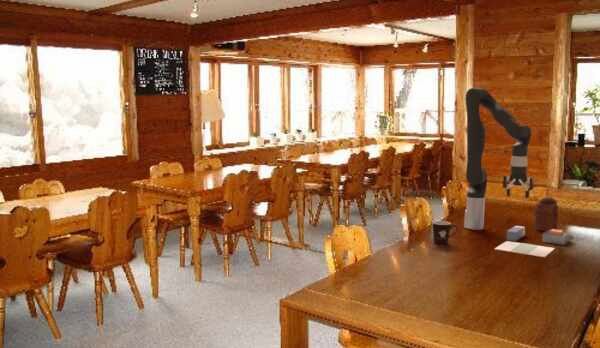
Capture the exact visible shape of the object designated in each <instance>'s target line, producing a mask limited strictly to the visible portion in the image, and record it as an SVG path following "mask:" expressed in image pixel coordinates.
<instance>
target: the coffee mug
mask: <svg viewBox="0 0 600 348" xmlns="http://www.w3.org/2000/svg"><path fill="white" fill-rule="evenodd" d="M431 224H432V233H433V235H432V237H433V243H434V244H435V245H439V246H440V245H442V246H443V245H448V244H449V239H450V238H452V237H453V236H454V235H455V234H457V233H458V231H459V227H458V225H454V224H453V225H451V222H449V221H447V220H446V221H445V220H444V221H443V220H436V221H435V220H433V221H432V222H431ZM453 227H455V228H456V231H455V232H453V233H452V234H450V230H451V229H452V228H453Z"/></svg>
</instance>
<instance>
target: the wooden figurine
mask: <svg viewBox="0 0 600 348" xmlns="http://www.w3.org/2000/svg"><path fill="white" fill-rule="evenodd" d="M557 203H558V202H557V200H556V199H555V198H553V197H551V196H550V197H549V196H545V197H542V198H541V199H539V200H537V201H536V202H535V209H534V216H535V217H534V219H535V220H534V229H535V230H537V231H544V232H546V231H547V230H551V229H556V230H558V223H559V222H558V220H559V219H558V218H559V217H558V215H559V206H558V204H557Z"/></svg>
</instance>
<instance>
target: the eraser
mask: <svg viewBox="0 0 600 348" xmlns="http://www.w3.org/2000/svg"><path fill="white" fill-rule="evenodd" d="M525 230H526V227H525V226H521V225H515V226H513V227H511V228H510V229H508V230H506V241H510V242H517V241H518V240H520V239H522V238H523V237H524V236H525V234H526V233H525V232H526V231H525Z"/></svg>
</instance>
